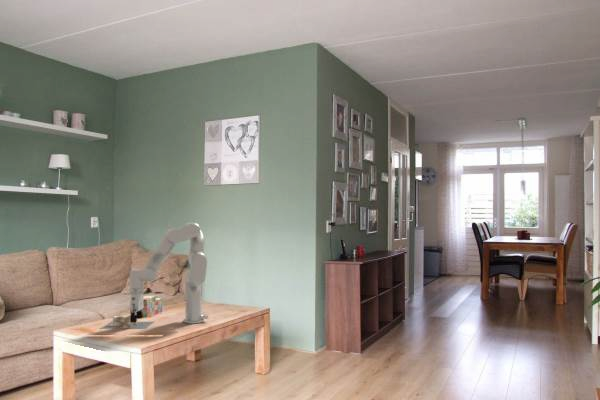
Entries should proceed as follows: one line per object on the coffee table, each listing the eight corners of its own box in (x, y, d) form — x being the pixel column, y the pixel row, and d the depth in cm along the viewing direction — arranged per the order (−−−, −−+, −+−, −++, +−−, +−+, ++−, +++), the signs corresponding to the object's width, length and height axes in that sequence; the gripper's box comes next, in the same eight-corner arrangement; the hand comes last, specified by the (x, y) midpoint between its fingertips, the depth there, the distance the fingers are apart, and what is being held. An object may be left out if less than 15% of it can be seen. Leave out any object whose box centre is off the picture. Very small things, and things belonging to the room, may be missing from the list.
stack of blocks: (153, 311, 332) (153, 293, 332) (162, 312, 331) (162, 293, 331) (137, 318, 311) (137, 298, 311) (147, 318, 310) (147, 299, 310)
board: (154, 323, 297) (154, 321, 297) (145, 330, 279) (145, 328, 279) (111, 323, 297) (111, 321, 297) (98, 330, 279) (98, 328, 279)
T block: (137, 322, 294) (137, 314, 294) (130, 327, 282) (130, 318, 282) (117, 322, 294) (117, 314, 294) (109, 327, 282) (109, 318, 282)
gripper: (138, 293, 280) (137, 323, 279) (147, 288, 297) (147, 317, 297) (124, 293, 280) (124, 323, 279) (135, 288, 297) (134, 317, 297)
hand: (136, 320), depth 288 cm, fingers open, 9 cm apart
